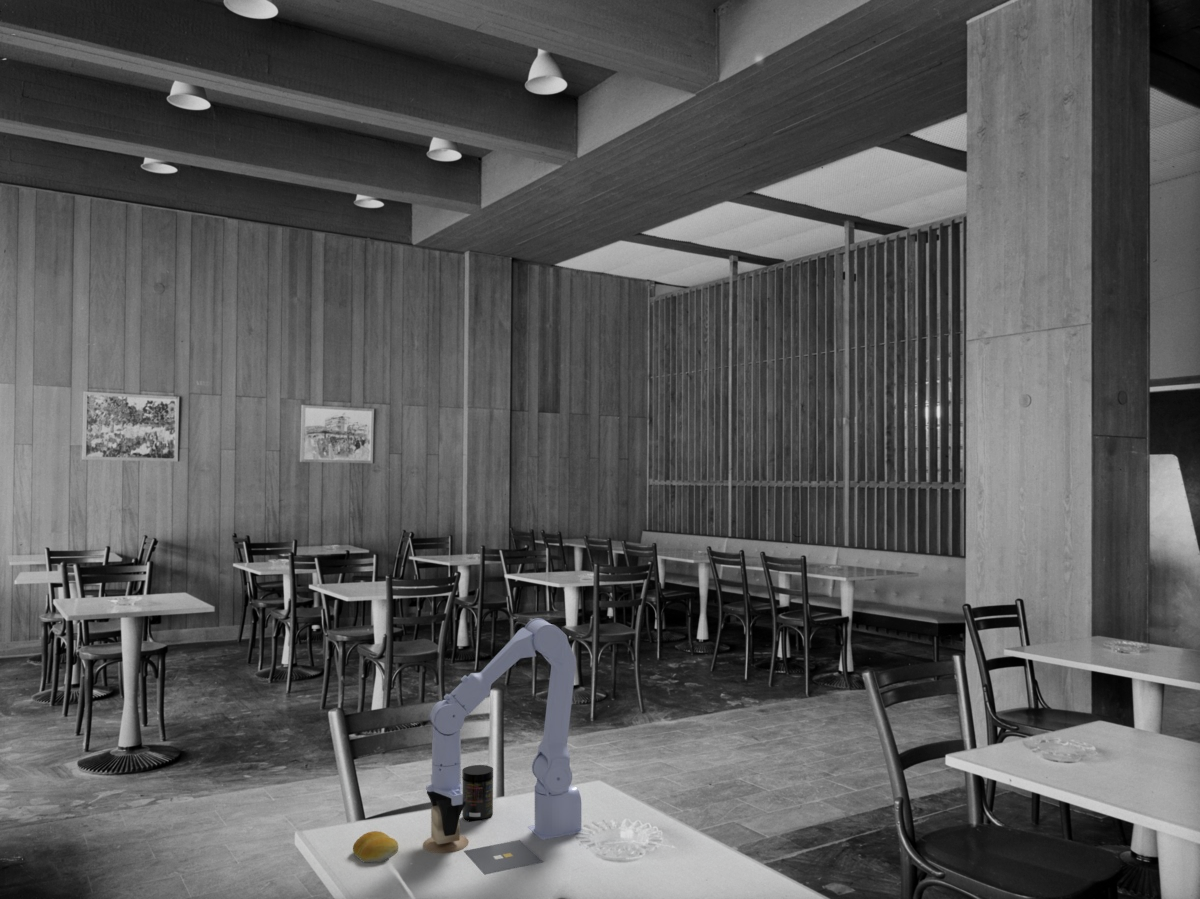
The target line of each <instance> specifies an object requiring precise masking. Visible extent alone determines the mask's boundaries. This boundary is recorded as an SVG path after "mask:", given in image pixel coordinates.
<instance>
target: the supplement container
mask: <svg viewBox="0 0 1200 899" xmlns="http://www.w3.org/2000/svg"><path fill="white" fill-rule="evenodd" d="M461 771H462V774H461V776H462V777H461V779H462V781H461V784H462V787H461V793H462V795H463V798H464V799H465V800H466V804H465V806H464V808H463V810H462V812H461V816H462V818H463V820H464V821H466V822H468V823H470V822H471V823H473V822H477V821H485V820H488V819H489V820H490V819H491V818H493V815H494V768H493V766H491V765H486V764H475V765H474V764H473V765H469V766H466V767H463V769H462V770H461Z"/></svg>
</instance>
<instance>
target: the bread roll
mask: <svg viewBox="0 0 1200 899" xmlns="http://www.w3.org/2000/svg"><path fill="white" fill-rule="evenodd" d="M398 851H399V843H398V840H396V839H395V838H393V837H390V836H389V835H388V834H386V833H384V832H382V831H377V830H376V831H375V830H374V831H369V832H366V833H364V834H362V835H361V836H359V838H357V840H356V841H355V842H354V843H353V846H352V853H353V854H354V855H355V857H356V856H357V857H356V858H358V859H359V860H362V861H361V862H363V861H364V862H363V863H368V862H372V863H381V862H382V863H383V862H386V861H389V860H390V858H391V857H393V856H395V855H396V854H397V853H398Z"/></svg>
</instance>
